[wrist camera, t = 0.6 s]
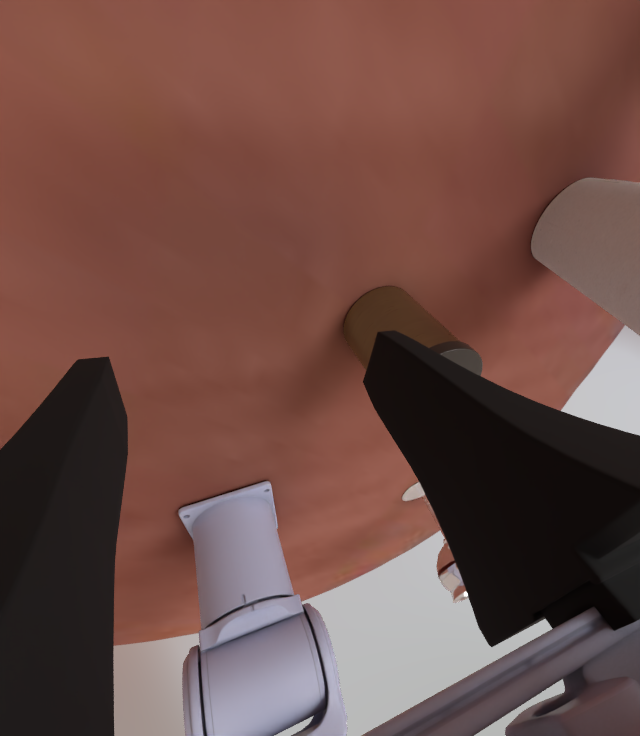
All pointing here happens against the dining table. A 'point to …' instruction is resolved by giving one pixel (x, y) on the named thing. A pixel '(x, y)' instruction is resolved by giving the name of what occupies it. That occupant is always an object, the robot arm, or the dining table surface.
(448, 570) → the wineglass
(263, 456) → the dining table surface
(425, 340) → the tea tin
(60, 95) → the dining table surface
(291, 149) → the dining table surface
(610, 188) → the dixie cup
